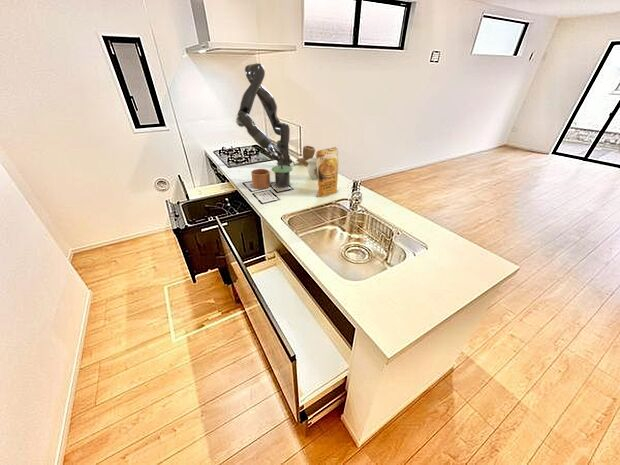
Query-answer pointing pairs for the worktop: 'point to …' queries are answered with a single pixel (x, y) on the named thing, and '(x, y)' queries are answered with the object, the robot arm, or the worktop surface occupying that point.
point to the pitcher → (312, 168)
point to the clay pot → (260, 178)
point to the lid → (281, 167)
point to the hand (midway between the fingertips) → (280, 158)
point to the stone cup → (306, 155)
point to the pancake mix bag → (327, 171)
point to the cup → (282, 179)
